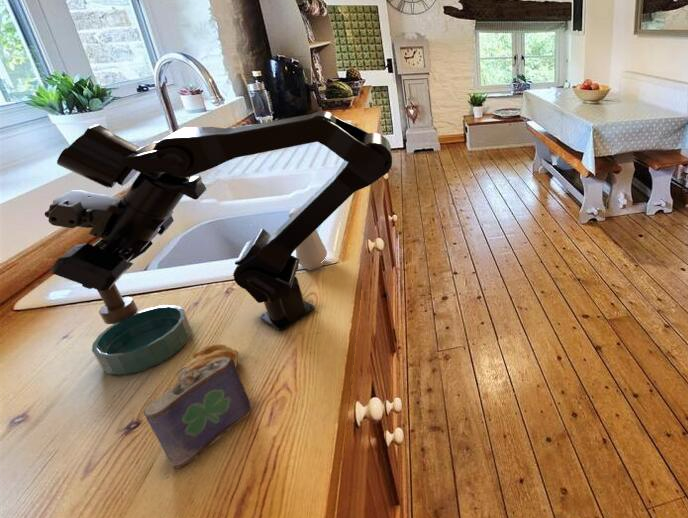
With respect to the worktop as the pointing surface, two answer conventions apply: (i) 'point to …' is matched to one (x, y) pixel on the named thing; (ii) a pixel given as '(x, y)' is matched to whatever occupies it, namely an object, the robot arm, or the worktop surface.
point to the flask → (198, 410)
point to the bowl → (142, 340)
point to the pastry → (211, 356)
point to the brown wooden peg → (116, 306)
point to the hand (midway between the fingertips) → (91, 282)
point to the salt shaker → (310, 250)
